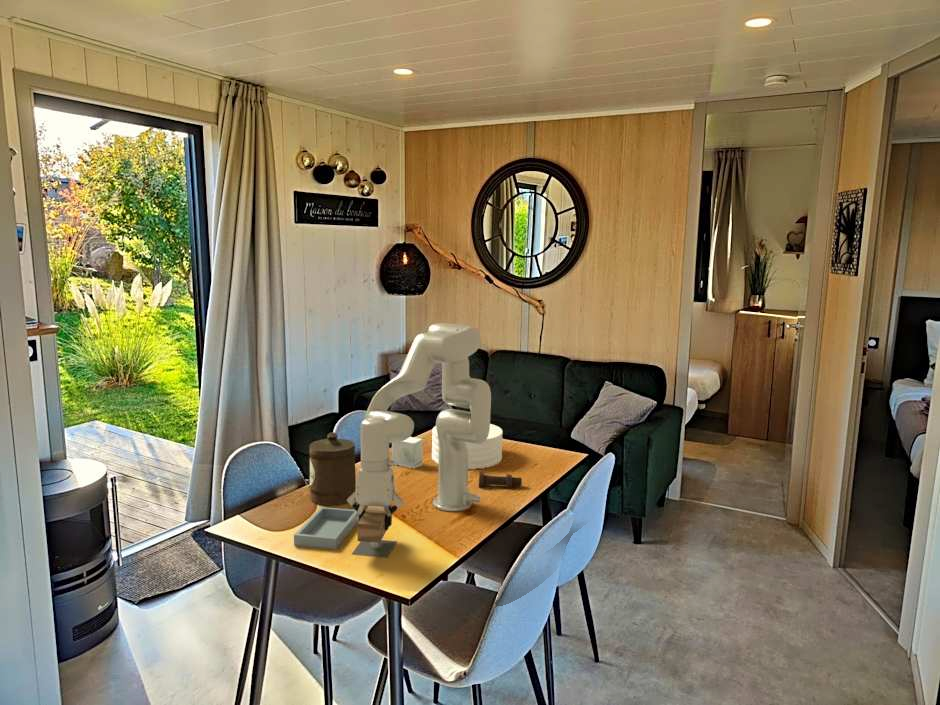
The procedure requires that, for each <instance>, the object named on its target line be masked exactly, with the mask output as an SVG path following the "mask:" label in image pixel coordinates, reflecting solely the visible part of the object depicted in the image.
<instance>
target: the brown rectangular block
mask: <svg viewBox="0 0 940 705" xmlns="http://www.w3.org/2000/svg"><path fill="white" fill-rule="evenodd" d="M391 506H393V503H392V504H391ZM365 510H366V511H365V513H364V514H363V516H362V517H361V519H360V520H359V521H358V522H357V523H356V525H357V542H361V541H362V542H377V543H380V542H381V540H383V538H384V535H385V534H386V533H387V531H388V530H385V516H386V512H385V510H384V507H383V506H367V508H366V509H365Z"/></svg>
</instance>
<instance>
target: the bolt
mask: <svg viewBox="0 0 940 705" xmlns="http://www.w3.org/2000/svg"><path fill="white" fill-rule="evenodd" d="M478 473H479V474H478V488H480V489H481V488H484V486H488V485H489V486H505V488H506V489H511V488H512V487H521V486H523V484H522V482H523V479H522V477H517V476H516V477H513V475H512V474H506V475H505V476H500V475H499V476H498V475H488V474H484V473H485V472H484V471H483V470H481V471H479V472H478Z"/></svg>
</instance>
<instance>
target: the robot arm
mask: <svg viewBox="0 0 940 705" xmlns="http://www.w3.org/2000/svg"><path fill="white" fill-rule="evenodd" d="M481 341H482V336H481V332H480V331H479V329H478V328H477V327H475V326H472V325H465V324H455V323H446V322H437V323H433V324H431V325H430V326H429V327H428V330H427V332H423V333H419V334H418V335H416V336H415V337H414V339H413V341H412V344H411V346H410V347H409V350H408V353H407V355H406V357H405V359H404V361H403V363H402V366H401V368H400V370H399V373H398V374H397V376H395V377H394V378H392V379H391V380H390V381H388V382H387V383H386V384H385V385H383V386H382V387H381V388H380V389H378V391H377V392H376V393H375V394H374V396H373V397H372V399H371V401H370V402H369V405H368V407H367V410H366V412H365V414H364V418H363V419H362V421H361V422H360V427H359V428H360V466H359V468H358V470H357V474H356V491H355V492H354V493H353V494H352V495H351V496H350V497H349V498H348V499H347V503H348V504H349V505H350V506H351V507H352V508H353V510H356V511H357V513H358V514H359V520H360V519H361V517H362V516H363V514H364V513H365V511H366V510H367V509H365V508H366V506H367V507H368V506H383V507H384V510H385V512H386V516H385V530H387V531H388V530H389V527H391V526H392V523H393V514H394V513H395V512H396V511H397V510H398V509H399V508H401V506H402V505H403V504H404V500H403V499H402V498H401V497H400V496H399V495H398V494H397V493H396V485H395V477H394V475H395V474H394V472H393V468H392V467H394V466H395V465H394V461H392V459H391V458H390V444H392V443H393V442H400V441H404V440H406V439H408V438H409V437H412V435H413V432H414V428H415V423H414V421H413V419H412V418H411V417H410V416H408V415H407V414H403V413H400V412H394V411H390V410H389V408H390V407H391V405H393V403H394V402H396V401H397V400H398V399H400V398H403V397H405V396H408V395H411V394H415V393H417V392H420V391H423V390H424V389H425V388H426V387H427V384H428V382H429V379H430V376H431V375H432V372H433V369H434V368H435V365H436V364H439V363H440V364H441V366H442V370H441V377H442V378H441V398H442V401H443V402H444V403H445V404H447V405H449V406H454V407H459V408H463V409H470V410H469V411H467V410H462V409H461V410H460V409H455V408H447V409H443V410H441V411H440V412H439V413H438V415H437V417H436V420H435V426H436V430H437V435H438V442H439V464H438V472H437V473H438V474H437V476H438V478H437V480H438V481H437V489H438V490H437V496H436V497H434V498H433V500H432V504H433V506H434V507H435V509H439V510H440V511H445V512H446V511H447V512H460V511H465V510H468V509H469V508H470V507H471V506H472V504H473V503H472V502H474V503H481V499H482V498H481V496H480V495H479V494H478V493H471V492H470V489H469V488H468V482H469V481H468V476H469V475H468V473H469V469H468V449H467V446H466V444H465V442H469V443H474V444H481V443H483V442H485V441H486V439H487V437H488V435H489V430H490V424H491V413H492V412H491V410H492V407H491V406H492V392H491V388H490V385H489V384H488V382H486V380H483V379H479V378H472V377H471V376H470V361H469V357H470V356H472V355H474V353H476V352H477V351H478V349H479V348H480V345H481ZM393 501H394V502H395V503H394V504H393ZM391 504H392V506H391Z"/></svg>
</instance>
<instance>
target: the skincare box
mask: <svg viewBox="0 0 940 705" xmlns="http://www.w3.org/2000/svg"><path fill="white" fill-rule="evenodd" d="M423 446H424V440H423V438H419V437H413V436H410V437H409V438H408V439H406V440H404V441H400V442H393V443H391V460H392V461H394V466H397V465H399V466H398V467H401V466H404V467H403V468H406V467H408V468H407V469H411V468H413V469H412V470H415V468H416V469H418V468H419V467H422V466H423V457H424V454H423V451H424V450H423ZM417 467H418V468H417Z"/></svg>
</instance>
